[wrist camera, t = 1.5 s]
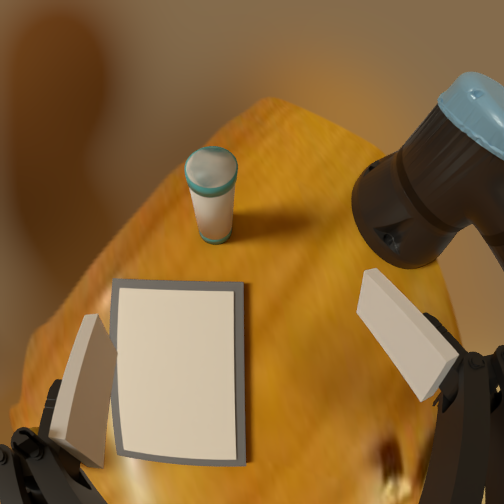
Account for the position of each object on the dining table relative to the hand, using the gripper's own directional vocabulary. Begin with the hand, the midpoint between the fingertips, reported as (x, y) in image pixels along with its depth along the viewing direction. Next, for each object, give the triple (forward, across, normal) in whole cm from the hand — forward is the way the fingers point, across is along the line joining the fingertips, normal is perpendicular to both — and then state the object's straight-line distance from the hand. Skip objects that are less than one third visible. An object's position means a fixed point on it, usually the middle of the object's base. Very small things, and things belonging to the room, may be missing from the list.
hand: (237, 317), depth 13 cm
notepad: (+8, -6, -14) cm, 17 cm away
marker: (+19, 0, -3) cm, 19 cm away
